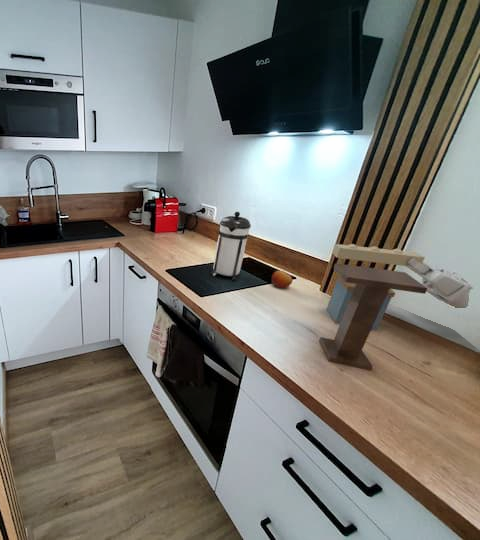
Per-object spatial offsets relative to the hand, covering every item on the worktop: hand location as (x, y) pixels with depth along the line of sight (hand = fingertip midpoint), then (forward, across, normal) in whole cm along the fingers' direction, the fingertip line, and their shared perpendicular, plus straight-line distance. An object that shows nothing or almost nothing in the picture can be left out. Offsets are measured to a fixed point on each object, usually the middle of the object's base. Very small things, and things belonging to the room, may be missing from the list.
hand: (404, 256), depth 90 cm
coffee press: (+31, -25, +47) cm, 61 cm away
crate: (-6, 0, +25) cm, 26 cm away
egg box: (+5, 0, +6) cm, 8 cm away
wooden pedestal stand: (+2, +24, +30) cm, 38 cm away
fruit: (+11, -20, +35) cm, 42 cm away
